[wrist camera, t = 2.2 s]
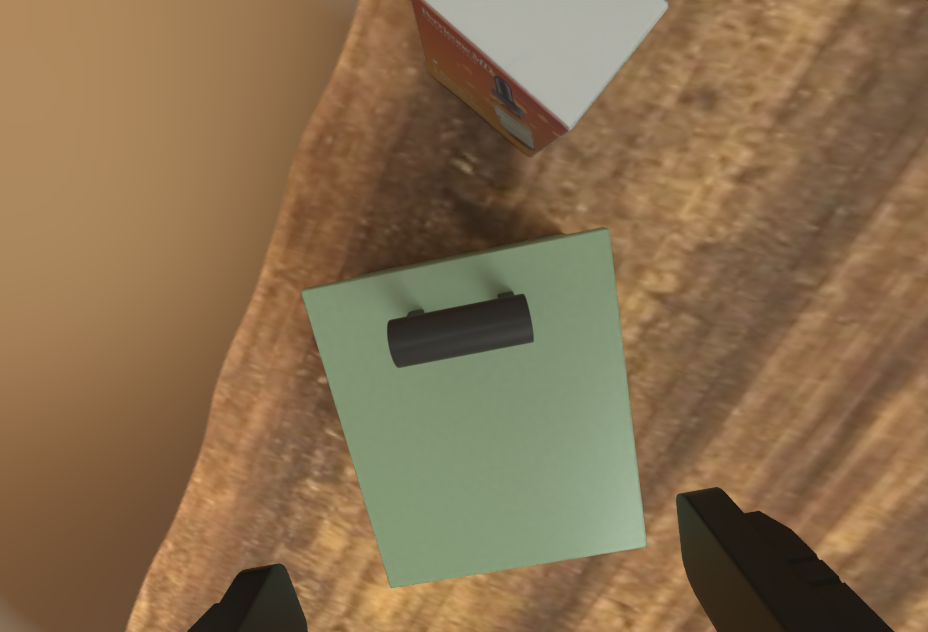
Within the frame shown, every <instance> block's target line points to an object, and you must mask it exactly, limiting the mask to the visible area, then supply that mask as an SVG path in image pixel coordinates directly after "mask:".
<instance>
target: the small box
mask: <svg viewBox="0 0 928 632" xmlns="http://www.w3.org/2000/svg"><path fill="white" fill-rule="evenodd" d="M411 1H412V4H413V9H414V13H415V18H416V22H417V26H418V30H419V34H420V39H421V43H422V47H423V52H424V56H425V60H426V64H427V68H428V72H429V74H430V75H431V76H433V77H434V78H435V79H436V80H438V81H439V82H440V83H441V84H443V85H444V86H445V87H447V88H448V89H449V90H450V91H452V92H453V93H454V94H455V95H456V96H458V97H459V98H460V99H461V100H462V101H464V102H465V103H466V104H467V105H468V106H470V107H471V108H472V109H473V110H474V111H475V112H477V113H478V114H479V115H480V116H481V117H482V118H483V119H484V120H486V121H487V122H488V123H489V124H490V125H491V126H493V127H494V128H495V129H496V130H497V131H498V132H500V133H501V134H502V135H503V136H504V137H505V138H507V139H508V140H509V141H510V142H511V143H512V144H514V145H515V146H516V147H517V148H518V149H519V150H521V151H522V152H523V153H524V154H525V155H526V156H528V157H533V156H534V155H536V154H537V153H539V152H540V151H542V150H543V149H545V148H546V147H548V146H549V145H551V144H552V143H553V142H555V141H556V140H558V139H559V138H561V137H562V136H564V135H565V134H566V133H568V132H569V131H571V130H572V128H573V127H574V126H575V125H576V124H577V122H578V121H579V120H580V119H581V117H582V116H583V115H584V114H585V112H586V111H587V110H588V109H589V107H590V106H591V105H592V104H593V102H594V101H595V100H596V99H597V97H598V96H599V95H600V94H601V92H602V91H603V90H604V89H605V87H606V86H607V85H608V84H609V82H610V81H611V80H612V79H613V77H614V76H615V75H616V74H617V72H618V71H619V70H620V69H621V67H622V66H623V65H624V64H625V62H626V61H627V60H628V59H629V57H630V56H631V55H632V54H633V52H634V51H635V50H636V49H637V47H638V46H639V45H640V43H641V42H642V41H643V40H644V38H645V37H646V36H647V35H648V33H649V32H650V31H651V29H652V28H653V27H654V26H655V24H656V23H657V22H658V20H659V19H660V18H661V17H662V15H663V14H664V13H665V12H666V10H667V9H668V2H667V1H666V0H411Z"/></svg>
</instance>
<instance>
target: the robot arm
mask: <svg viewBox="0 0 928 632" xmlns="http://www.w3.org/2000/svg"><path fill="white" fill-rule="evenodd" d="M676 505H677V514H678V523H679V533H680V542H681V551H682V559H683V564H684V568H685V571H686V574H687V577H688V580H689V582H690V584H691V587H692V589H693V591H694V593H695V595H696V597H697V598H698V600H699V602H700V603H701V605H702V607H703V608H704V610H705V612H706V614H707V615H708V617H709V619H710V620H711V622H712V624H713V625H714V627H715V629H716V631H717V632H894V631H893V630H892V629H891V628H890V627H889V626H888V625H887V624H886V623H885V622H884V621H883V620H882V619H881V618H880V617H879V616H878V615H877V614H876V613H875V612H874V611H873V610H872V609H871V608H870V607H869V606H868V605H867V604H866V603H865V602H864V601H863V600H862V599H861V598H860V597H859V596H858V595H857V594H856V593H855V592H854V591H853V590H852V589H851V588H850V587H849V586H848V585H847V584H846V583H842V582H841V581H840V579H839V576H838V575H837V574H836V573H835V572H834V571H833V570H832V569H831V568H830V567H829V566H828V565H827V564H826V563H825V562H824V561H823V560H819V559H818V557H817V554H816V553H815V552H814V551H813V550H812V549H811V548H810V547H809V546H808V545H807V544H806V543H804V542H803V541H802V540H801V539H800V538H799V537H798V536H797V535H796V534H795V533H794V532H793V531H792V530H791V529H790V528H788V527H786V526H785V525H783V524H781V523H779V522H778V521H776V520H774V519H772V518H771V517H769V516H767V515H765V514H764V513H762V512H760V511H755V512H750V513H743V512H742V510H741V509H740V508H739V507H738V506H737V505H736V504H735V503H734V502H733V500H732V499H731V498H730V497H729V496H728V495H727V494H726V493H725V492H724V491H723V490H722V489H721V488H718V487H714V488H709V489H703V490H698V491H692V492H686V493H681V494H678V495H677V498H676ZM187 632H308V630H307V623H306V619H305V616H304V613H303V611H302V608H301V606H300V603H299V600H298V598H297V595H296V593H295V590H294V587H293V585H292V582H291V579H290V577H289V574H288V572H287V569H286V568H285V566H284V565H282V564H273V565H267V566H262V567H256V568H250V569H245V570H242V571H241V572H240V573H239V574H238V575H237V576H236V577H235V579H234V580H233V582H232V584H231V585H230V587H229V588H228V590H227V592H226V593H225V595H224V596H223V598H222V600H221V601H220V603H216V604H214V605H213V606H212V607H211V608H210V609H209V610H208V611H207V612H206V613H205V614H204V615H203V616H202V617H201V618H200V619H199V620H198V621H197V622H196V623H195V624H194V625H193V626H192V627H191V628H190V629H189V630H188V631H187Z"/></svg>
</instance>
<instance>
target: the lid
mask: <svg viewBox="0 0 928 632" xmlns="http://www.w3.org/2000/svg"><path fill="white" fill-rule="evenodd" d="M301 294H302V297H303V300H304V304H305V307H306V310H307V313H308V317H309V320H310V323H311V327H312V330H313V333H314V337H315V340H316V343H317V346H318V350H319V353H320V356H321V360H322V363H323V366H324V370H325V373H326V376H327V380H328V383H329V386H330V389H331V393H332V396H333V399H334V403H335V406H336V409H337V413H338V416H339V419H340V422H341V426H342V429H343V432H344V436H345V439H346V442H347V446H348V449H349V452H350V456H351V459H352V462H353V465H354V469H355V472H356V475H357V479H358V482H359V485H360V489H361V492H362V495H363V499H364V502H365V505H366V508H367V512H368V515H369V518H370V522H371V525H372V528H373V532H374V535H375V538H376V541H377V545H378V548H379V551H380V555H381V558H382V561H383V565H384V568H385V571H386V575H387V578H388V581H389V584H390V587H391V588H396V587H402V586H408V585H414V584H420V583H426V582H433V581H439V580H445V579H451V578H457V577H463V576H470V575H476V574H482V573H488V572H494V571H500V570H507V569H513V568H519V567H525V566H531V565H538V564H544V563H550V562H556V561H562V560H568V559H575V558H581V557H587V556H593V555H599V554H605V553H612V552H618V551H624V550H630V549H636V548H642V547H647V541H646V533H645V525H644V516H643V508H642V500H641V491H640V483H639V474H638V466H637V458H636V449H635V441H634V433H633V424H632V416H631V408H630V399H629V391H628V383H627V374H626V366H625V358H624V349H623V341H622V332H621V324H620V316H619V307H618V299H617V291H616V282H615V274H614V266H613V257H612V249H611V241H610V232H609V228H604V227H601V228H596V229H591V230H586V231H582V232H577V233H572V234H567V235H562V236H557V237H552V238H547V239H542V240H538V241H533V242H528V243H523V244H518V245H513V246H508V247H503V248H498V249H494V250H489V251H484V252H479V253H474V254H469V255H464V256H459V257H454V258H450V259H445V260H440V261H435V262H430V263H425V264H420V265H415V266H411V267H406V268H401V269H396V270H391V271H386V272H381V273H376V274H371V275H367V276H362V277H357V278H352V279H347V280H342V281H337V282H332V283H327V284H323V285H318V286H313V287H308V288H306V289H304V290H302V291H301Z"/></svg>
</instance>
